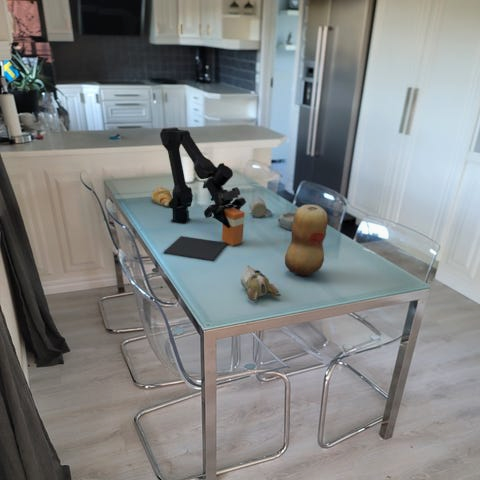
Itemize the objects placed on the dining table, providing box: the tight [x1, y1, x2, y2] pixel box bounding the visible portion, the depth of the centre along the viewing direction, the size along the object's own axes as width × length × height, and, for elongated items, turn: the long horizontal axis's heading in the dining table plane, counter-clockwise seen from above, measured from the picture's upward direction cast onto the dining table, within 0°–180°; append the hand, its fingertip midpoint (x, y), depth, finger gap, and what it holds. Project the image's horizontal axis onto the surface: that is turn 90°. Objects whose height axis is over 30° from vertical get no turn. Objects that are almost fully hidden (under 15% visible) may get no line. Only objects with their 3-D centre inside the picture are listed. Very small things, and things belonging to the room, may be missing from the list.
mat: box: [163, 235, 228, 262], centre depth 187 cm, size 20×18×1 cm
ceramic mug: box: [248, 196, 273, 218], centre depth 223 cm, size 11×8×8 cm
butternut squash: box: [284, 204, 329, 277], centre depth 164 cm, size 14×13×25 cm
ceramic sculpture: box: [240, 265, 282, 302], centre depth 154 cm, size 11×9×15 cm
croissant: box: [150, 187, 173, 207], centre depth 235 cm, size 21×10×8 cm, turn 27°
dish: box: [277, 211, 296, 231], centre depth 213 cm, size 14×14×5 cm
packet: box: [221, 207, 245, 247], centre depth 190 cm, size 6×6×13 cm
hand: (235, 226), depth 189 cm, fingers closed on packet, 5 cm apart
